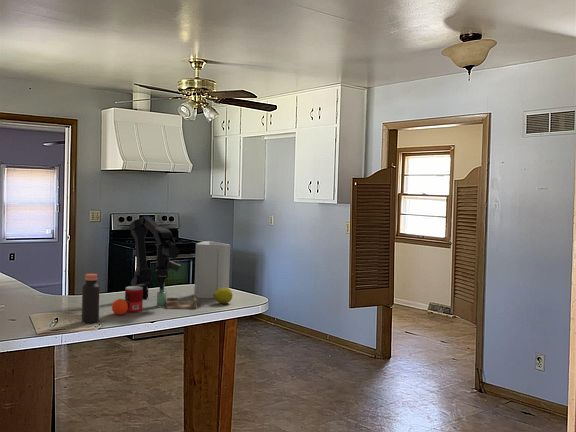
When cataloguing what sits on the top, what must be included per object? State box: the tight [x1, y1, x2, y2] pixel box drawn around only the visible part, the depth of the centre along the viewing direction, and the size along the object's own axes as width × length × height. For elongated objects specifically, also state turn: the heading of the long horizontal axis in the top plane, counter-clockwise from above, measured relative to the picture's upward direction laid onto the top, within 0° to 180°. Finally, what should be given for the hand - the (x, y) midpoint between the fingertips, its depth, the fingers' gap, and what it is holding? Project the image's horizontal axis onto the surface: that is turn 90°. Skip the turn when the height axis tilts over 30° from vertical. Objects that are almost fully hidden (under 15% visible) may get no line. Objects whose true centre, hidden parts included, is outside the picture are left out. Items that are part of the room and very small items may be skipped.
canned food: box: [124, 285, 144, 314], centre depth 274 cm, size 8×8×11 cm
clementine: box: [111, 298, 129, 316], centre depth 266 cm, size 8×7×7 cm
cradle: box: [165, 295, 198, 310], centre depth 290 cm, size 14×13×4 cm
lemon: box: [213, 288, 233, 305], centre depth 299 cm, size 11×8×8 cm
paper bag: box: [193, 240, 231, 299], centre depth 317 cm, size 19×15×28 cm
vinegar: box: [81, 273, 100, 324], centre depth 250 cm, size 7×7×20 cm
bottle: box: [156, 285, 167, 308], centre depth 288 cm, size 4×4×12 cm
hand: (161, 288), depth 288 cm, fingers open, 8 cm apart
